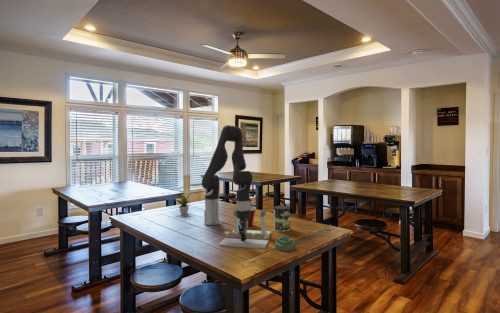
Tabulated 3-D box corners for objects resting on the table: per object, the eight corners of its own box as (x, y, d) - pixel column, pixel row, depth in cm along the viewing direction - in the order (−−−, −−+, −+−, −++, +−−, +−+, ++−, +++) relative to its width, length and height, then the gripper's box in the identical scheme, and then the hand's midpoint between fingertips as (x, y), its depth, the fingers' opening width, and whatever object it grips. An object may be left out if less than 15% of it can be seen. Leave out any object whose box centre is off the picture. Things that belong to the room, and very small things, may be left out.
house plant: (185, 210, 244) (185, 190, 243) (197, 212, 236) (197, 192, 235) (171, 214, 232) (171, 193, 231) (183, 216, 224) (183, 194, 223)
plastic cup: (245, 228, 189) (244, 209, 189) (237, 224, 199) (236, 206, 198) (259, 225, 195) (259, 207, 194) (251, 222, 204) (250, 204, 204)
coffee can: (293, 230, 184) (293, 207, 183) (279, 232, 179) (279, 209, 178) (284, 226, 193) (283, 204, 192) (270, 228, 188) (270, 206, 187)
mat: (218, 245, 158) (218, 243, 158) (224, 239, 168) (224, 238, 168) (265, 248, 153) (265, 246, 153) (268, 242, 163) (268, 240, 163)
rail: (223, 236, 162) (223, 232, 162) (225, 235, 164) (225, 231, 164) (263, 238, 157) (263, 234, 157) (264, 237, 159) (264, 233, 159)
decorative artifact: (297, 250, 150) (291, 243, 160) (296, 236, 150) (290, 230, 160) (277, 251, 148) (273, 245, 158) (277, 237, 148) (272, 232, 158)
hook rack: (228, 237, 173) (228, 211, 172) (233, 231, 182) (233, 207, 182) (268, 239, 168) (267, 212, 167) (270, 233, 177) (270, 208, 177)
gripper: (239, 205, 167) (240, 236, 168) (232, 211, 154) (233, 244, 154) (252, 206, 166) (253, 236, 166) (247, 211, 152) (247, 245, 153)
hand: (243, 240), depth 160 cm, fingers closed on rail, 2 cm apart
